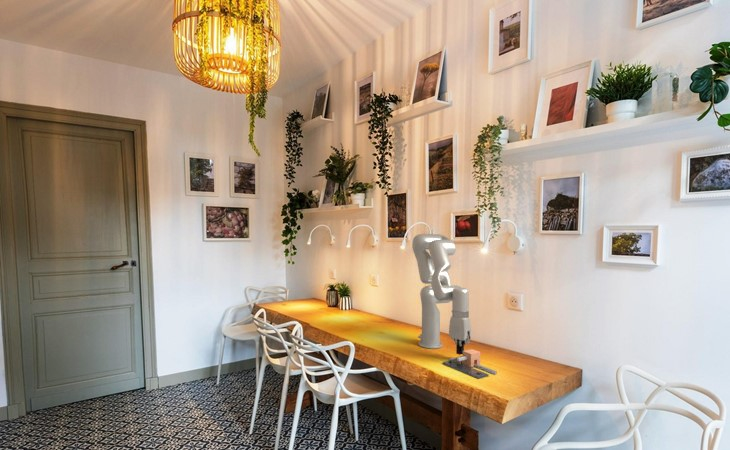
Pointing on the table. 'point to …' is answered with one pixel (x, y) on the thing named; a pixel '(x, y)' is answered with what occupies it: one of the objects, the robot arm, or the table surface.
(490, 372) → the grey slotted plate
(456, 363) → the bolt plate
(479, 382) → the table surface
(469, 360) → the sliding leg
